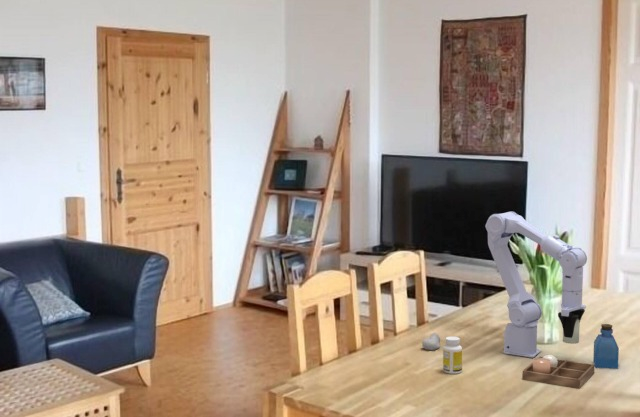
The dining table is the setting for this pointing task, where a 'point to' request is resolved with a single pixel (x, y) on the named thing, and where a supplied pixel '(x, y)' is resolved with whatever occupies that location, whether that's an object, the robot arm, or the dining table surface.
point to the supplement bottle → (452, 356)
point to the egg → (552, 360)
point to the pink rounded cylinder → (541, 365)
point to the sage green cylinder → (575, 334)
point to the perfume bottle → (606, 349)
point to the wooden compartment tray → (562, 374)
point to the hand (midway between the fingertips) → (570, 335)
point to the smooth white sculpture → (431, 342)
